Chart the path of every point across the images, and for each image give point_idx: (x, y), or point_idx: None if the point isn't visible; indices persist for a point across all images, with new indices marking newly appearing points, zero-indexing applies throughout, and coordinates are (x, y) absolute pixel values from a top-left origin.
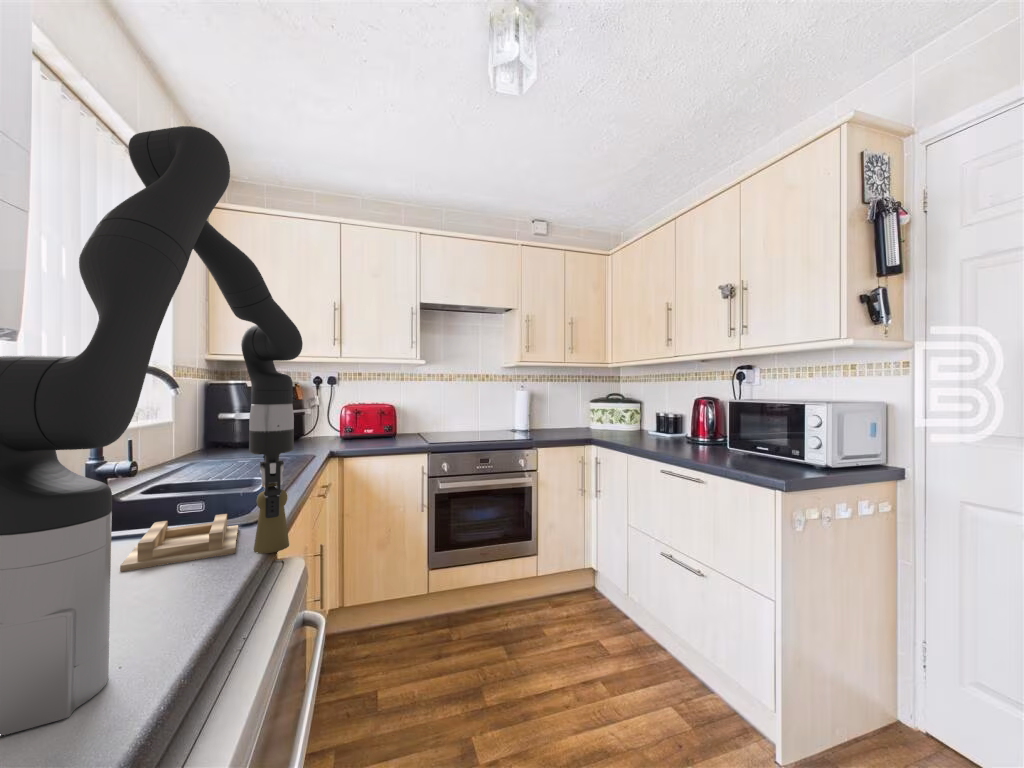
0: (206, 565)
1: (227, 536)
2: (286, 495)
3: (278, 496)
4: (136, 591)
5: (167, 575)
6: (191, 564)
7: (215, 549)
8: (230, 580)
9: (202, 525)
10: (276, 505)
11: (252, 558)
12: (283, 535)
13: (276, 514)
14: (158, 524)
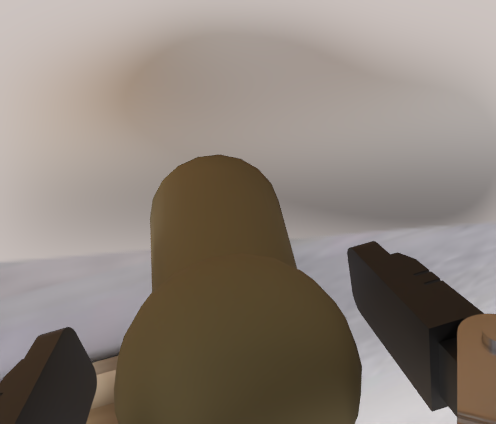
0: None
1: (97, 400)
2: (255, 287)
3: (452, 325)
4: (436, 416)
5: (364, 405)
6: None
7: None
8: (478, 254)
9: None
10: (448, 285)
11: (317, 251)
12: (254, 185)
13: (397, 253)
14: None
